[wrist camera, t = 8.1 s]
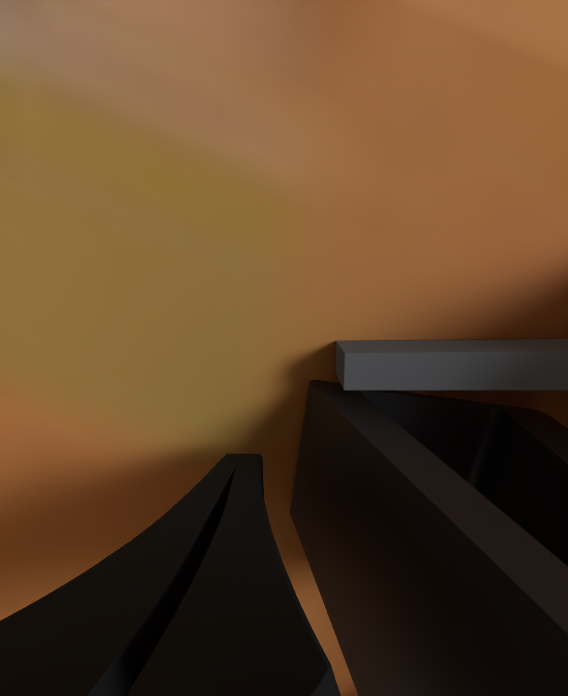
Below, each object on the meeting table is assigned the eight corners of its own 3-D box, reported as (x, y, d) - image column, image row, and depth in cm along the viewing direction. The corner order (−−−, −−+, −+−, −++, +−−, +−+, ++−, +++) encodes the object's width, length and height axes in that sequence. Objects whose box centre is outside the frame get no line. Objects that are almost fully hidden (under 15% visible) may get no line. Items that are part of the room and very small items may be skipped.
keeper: (535, 558, 12) (583, 612, 10) (330, 551, 12) (337, 602, 10) (586, 338, 9) (661, 350, 8) (335, 340, 10) (344, 353, 8)
